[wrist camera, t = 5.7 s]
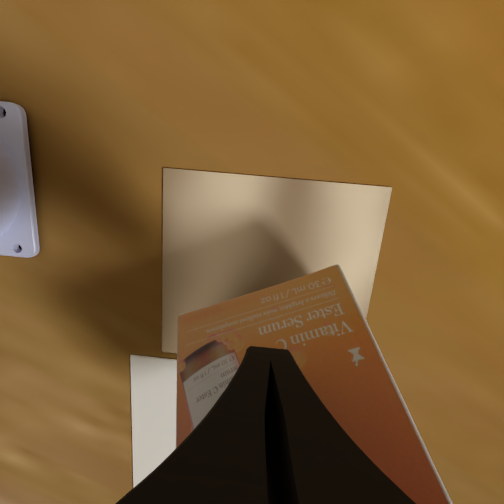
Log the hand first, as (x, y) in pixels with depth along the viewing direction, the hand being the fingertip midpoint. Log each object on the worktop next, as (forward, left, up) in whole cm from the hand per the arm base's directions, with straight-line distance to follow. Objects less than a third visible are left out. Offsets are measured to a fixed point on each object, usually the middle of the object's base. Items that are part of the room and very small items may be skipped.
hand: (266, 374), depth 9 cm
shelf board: (0, +1, -7) cm, 7 cm away
